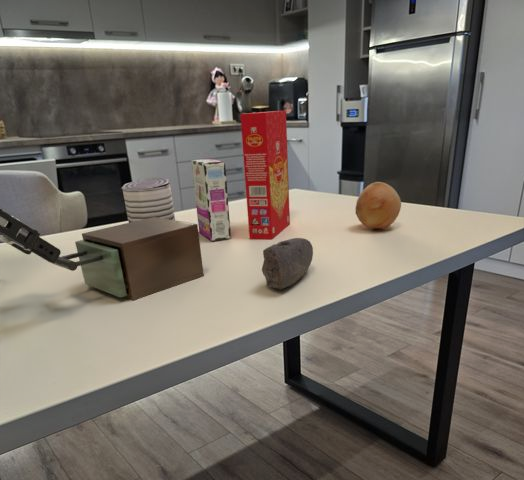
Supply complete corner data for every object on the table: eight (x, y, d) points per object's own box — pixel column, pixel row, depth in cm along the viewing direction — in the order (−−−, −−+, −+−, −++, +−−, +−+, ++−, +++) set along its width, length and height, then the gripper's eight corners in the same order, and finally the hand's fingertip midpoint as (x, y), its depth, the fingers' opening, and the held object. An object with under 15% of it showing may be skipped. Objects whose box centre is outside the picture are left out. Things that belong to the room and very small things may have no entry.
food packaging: (272, 239, 105) (265, 112, 94) (249, 238, 107) (240, 114, 96) (289, 224, 118) (285, 110, 106) (269, 223, 119) (263, 112, 108)
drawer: (86, 308, 71) (74, 261, 68) (52, 293, 78) (40, 249, 75) (188, 274, 83) (182, 232, 80) (151, 264, 90) (144, 225, 87)
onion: (408, 230, 105) (411, 182, 100) (365, 235, 103) (367, 187, 98) (387, 222, 113) (390, 177, 109) (348, 226, 111) (349, 181, 107)
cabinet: (132, 300, 76) (121, 243, 71) (93, 285, 84) (81, 233, 80) (203, 275, 85) (197, 224, 81) (162, 264, 93) (154, 216, 89)
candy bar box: (232, 238, 108) (226, 161, 100) (211, 242, 106) (203, 163, 99) (218, 229, 117) (211, 157, 110) (198, 232, 116) (189, 159, 108)
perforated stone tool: (298, 265, 87) (296, 227, 83) (324, 269, 84) (324, 229, 81) (254, 293, 75) (251, 249, 72) (283, 297, 73) (281, 252, 70)
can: (186, 229, 119) (179, 178, 114) (149, 239, 112) (140, 186, 107) (157, 224, 126) (149, 177, 121) (121, 234, 119) (111, 183, 113)
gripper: (-40, 156, 53) (80, 237, 66) (-74, 155, 63) (36, 226, 75) (-76, 214, 52) (52, 284, 65) (-105, 204, 62) (12, 267, 74)
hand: (44, 253), depth 70 cm, fingers open, 8 cm apart
